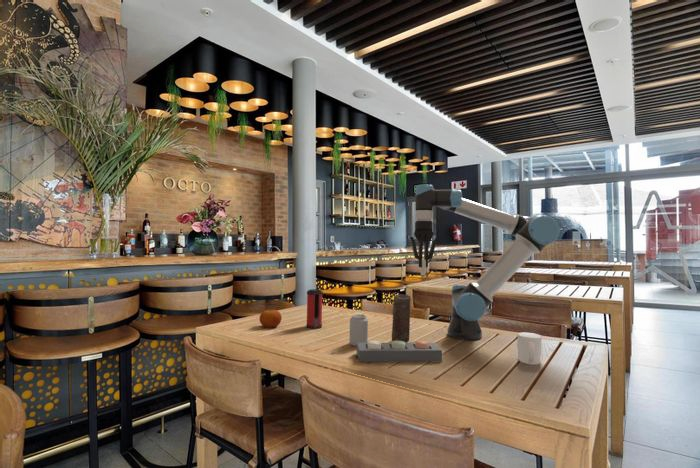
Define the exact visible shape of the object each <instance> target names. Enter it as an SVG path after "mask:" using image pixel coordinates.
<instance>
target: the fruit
mask: <svg viewBox="0 0 700 468" xmlns="http://www.w3.org/2000/svg"><path fill="white" fill-rule="evenodd" d="M282 318H283V317H282V313H281V312H280V311H278V310H276V309H266V310H264V311H262V312H261V313H260V315H259V323H260V324H261V325H262V326H263V327H265V328H276V327H278V326H279V325H280V324H281V322H282Z"/></svg>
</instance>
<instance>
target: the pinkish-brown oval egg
mask: <svg viewBox="0 0 700 468" xmlns="http://www.w3.org/2000/svg"><path fill="white" fill-rule="evenodd" d="M414 343H415V348H416V349H429V343H430V342H429V341H426V340H416V341H415V342H414Z"/></svg>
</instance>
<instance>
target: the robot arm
mask: <svg viewBox="0 0 700 468" xmlns="http://www.w3.org/2000/svg"><path fill="white" fill-rule="evenodd" d="M414 201H415V203H414V204H415V206H414V207H415V208H414V209H415V211H414V213H415V214H414V219H415V222H414V232H413V234H412V235H411V236H408V240H409V241H410V243H411V248H412V253H413V257H414V259H417V260H418V264H417V265H418V266H417V267H418V268H420V275H421V276H427V275H426V274H427V272H426V271H427V269H426V268H428V267H429V260H431V259H433V256H434V253H435V249H436V245H437V242H438V240H439V238H440V237H439V236H436V235H435V233H434V231H433V230H434V229H433V228H434V227H433V226H434V224H433V223H434V222H433V221H432V220H433V219H434V216H433V215H434V208H439V209H441V210H443V211H449V212H451V213H454V214H458V215H460V216H462V217H466V218H468V219H471V220H475V221H477V222H480V223H483V224H486V225H489V226H490V227H495V228H497V229H500V230H503V231H506V232H507V233H508V235H510V236H513V237H515V240H514V241H513V242H512V244H510V246H508V248H507V249H505V251H503V253H502V254H501V255H500V256H498V258H497V259H496V260H495V261H494V262H493V263H492V265H490V266H489V268H488V269H487V270H486V271H485V272H484V273H483V274H482V275H481V276H480V277H478V280H476V281H473V282H472V281H471V282H469V284H467V285H462V284H461V285H459V284H456V285H455V284H454V285H452V288H451V318H450V321H449V323H448V327H447V336H449V337H451V338H454V339H458V340H467V341H468V340H469V341H471V340H472V341H473V340H481V339H482V337H483V330H482V328H481V325H480V322H479V319H481V318H483V316H484V315H485V313H486V311H487V308H489V306H490V305H491V304H492V303H493V296H494V295H495V294H497V292H498V291H499V290H500V289H501V288H502V287H503V286H504V285H505V284H506V283H507V282H508V281H509V280H510V278H511V277H512V276H514V275H515V273H516V272H517V271H518V270H519V269H520V268H521V267H522V266H523V265H524V264H525V263H526V262H527V261H528V259H530V258H531V256H532V255H534V254H539V253H541V252H542V251H543V250H544V249H545V248H546V247H547V246H548V245H551V244H552V243H554V242H555V241H556V240H558V238H559V236H560V233H561V231H560V230H561V228H560V225H559V223H558V222H557V220H556V219H555V218H553V217H552V216H550V215H545V214H539V215H536V216H535V215H534V216H527V215H526V216H525V215H522V214H510V213H508V212H504V211H501V210H499V209H495V208H493V207H489V206H487V205H484V204H481V203H478V202H475V201H472V200H470V199H466V198H463V191H462V190H461V189H454V188H453V189H435V188H434V185H433V184H418V185H416V187H415V199H414ZM416 240H417V244H418V247H417V244H416ZM430 240H432V241H431V244H430ZM423 245H424V246H423ZM429 245H430V247H429ZM417 248H418V249H417ZM423 251H424V252H423Z"/></svg>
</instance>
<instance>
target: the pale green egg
mask: <svg viewBox="0 0 700 468" xmlns="http://www.w3.org/2000/svg"><path fill="white" fill-rule="evenodd" d="M391 343H392V349H405V342H403V341H392V340H391Z"/></svg>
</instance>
